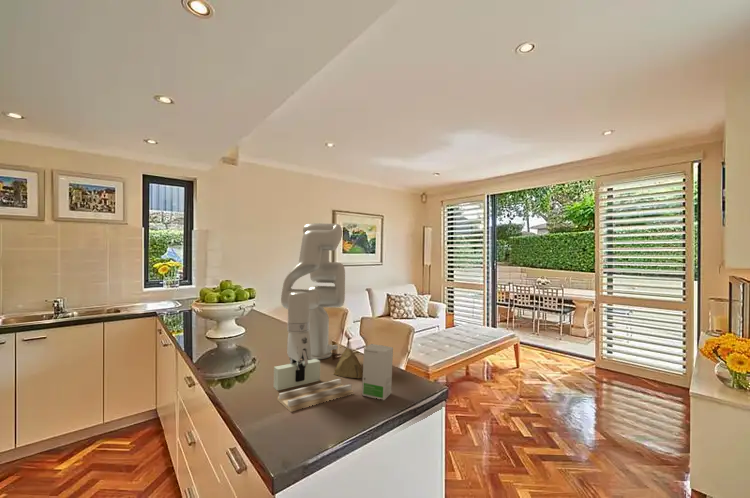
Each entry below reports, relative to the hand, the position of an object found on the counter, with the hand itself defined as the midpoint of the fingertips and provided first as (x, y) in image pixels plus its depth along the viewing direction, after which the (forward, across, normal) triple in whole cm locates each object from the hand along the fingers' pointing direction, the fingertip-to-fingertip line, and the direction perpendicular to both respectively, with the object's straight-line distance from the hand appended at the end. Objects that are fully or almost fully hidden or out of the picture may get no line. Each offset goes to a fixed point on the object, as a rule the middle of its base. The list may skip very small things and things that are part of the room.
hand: (297, 378), depth 119 cm
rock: (+2, -4, -19) cm, 20 cm away
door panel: (+2, 0, 0) cm, 2 cm away
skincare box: (+2, -24, -17) cm, 29 cm away
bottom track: (+2, -14, 0) cm, 14 cm away
